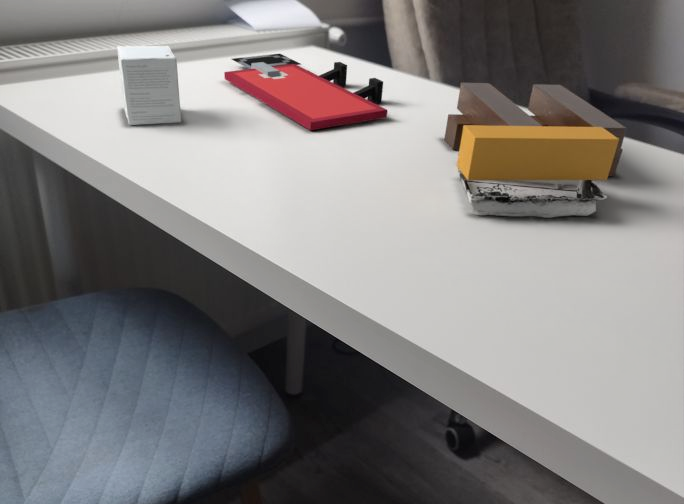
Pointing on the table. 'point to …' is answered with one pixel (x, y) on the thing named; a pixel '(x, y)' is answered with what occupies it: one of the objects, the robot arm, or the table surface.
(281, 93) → the red board with handle
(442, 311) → the table surface
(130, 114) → the product box
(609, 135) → the ochre bar
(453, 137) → the stacked wooden blocks
